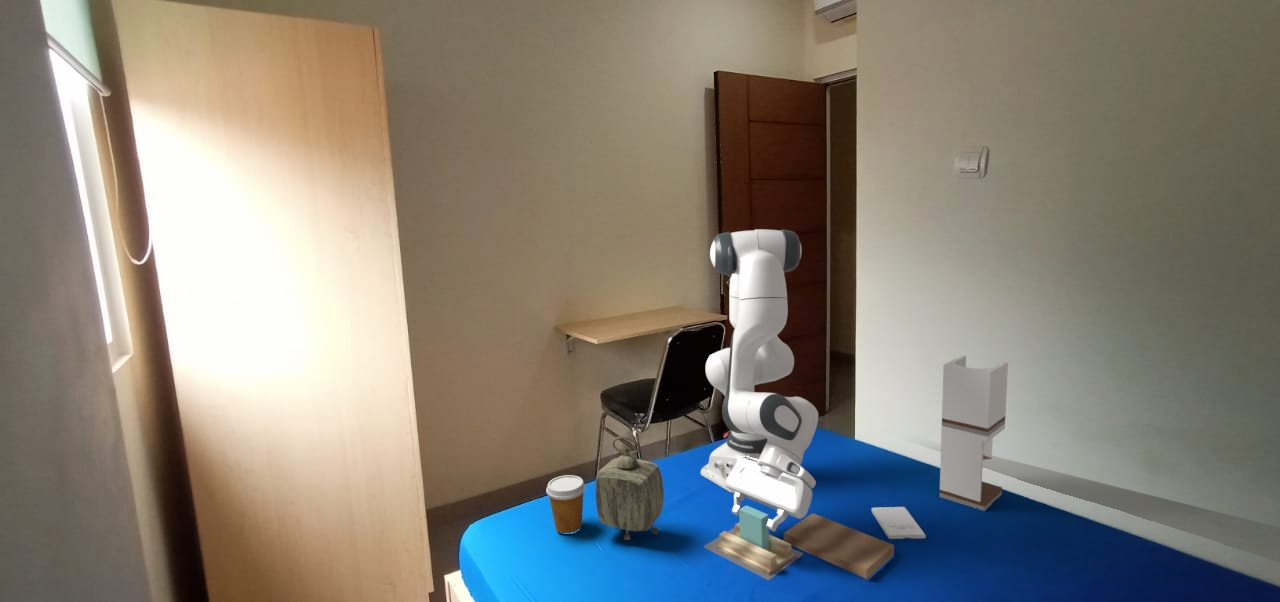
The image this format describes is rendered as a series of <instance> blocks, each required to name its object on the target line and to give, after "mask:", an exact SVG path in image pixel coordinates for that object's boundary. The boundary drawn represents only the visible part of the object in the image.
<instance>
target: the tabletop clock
mask: <svg viewBox="0 0 1280 602" xmlns="http://www.w3.org/2000/svg"><path fill="white" fill-rule="evenodd" d="M619 440H625V441H626V440H627V441H631V442H632V443H634V444H635V445H636V447H637V449H636V450H633V451H632V450H631V451H630V450H629V448H628V447H624V448H623V449H620V448H618V447H617V446H616V445H615V443H616V441H619ZM612 447H613V448H614V450H615V451H616V452H619V453H620V454H621V455H619V457H616V458H612V459H610V461H608V463H606V464H605V465H604V466H603V467H602V468H600V469H599V471H598V472H597V475H596V478H595V503H596V510H597V511H596V513H597V516H598V520H599V522H601V524H603V525H605V526H607V527H608V526H609V527H610V528H611V527H612V528H615V529H620V530H625V534H624V536H623V540H624V541H625V540H629V541H631V535H630V534H629V533H630V532H644V531H649V529H651V532H652V534H653V535H655V536H656V535H658V534H659V532H660V530H659V528H658V527H654V526H653V524H654V523H655V522H656V521H657V519H659V517H660V516H661V514H662V512H663V510H664V503H665V501H664V498H665V491H664V490H665V489H664V488H665V487H664V481H663V475H662V471H661V469H660V467H659V466H658V465H657V464H655V463H654V462H651V461H647V460H644V459H643V460H642V459H638V458H636V456H635V454H637V453H638V452H639V451H640V444H639V442H638V441H637V440H636V439H634V438H633V437H630V436H624V435H622V436H621V435H619V436H617V437H615V438H614V439H613V441H612ZM629 531H630V532H629Z"/></svg>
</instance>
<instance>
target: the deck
mask: <svg viewBox="0 0 1280 602" xmlns="http://www.w3.org/2000/svg"><path fill="white" fill-rule="evenodd" d="M783 541H785V542H787V543H790V544H791V547H795V548H797V549H798V550H801V551H803V552H806V553H808V554H810V555H812V556H814V557H817V558H819V559H821V560H824V561H825V562H828V563H831V564H832V565H834V566H837V567H839V568H841V569H843V570H846V571H848V572H850V573H852V574H854V575H857V576H859V577H862V578H864V579H865V581H867V580H869V579H870V578H871V577H872V576H873V575H875V573H877V571H879V570H880V569H881V568H882V567H883V566H884V565H885V564H886V563H887V562H888V561H890V560H891V559H892V558H893V557H894V556H895V555H894V553H895V551H894V550H895V546H894V544H892V543H890V542H887V541H884V540H883V539H882V540H881V539H879V538H878V537H874V536H872V535H869V534H867V533H864V532H861V531H859V530H856V529H854V528H851V527H850V526H846V525H844V524H841V523H839V522H837V521H833V520H831V519H829V518H826V517H823V516H821V515H819V514H815V513H813V512H812V513H811V514H809V515H808V516H805V517H804V518H802V519H801V520H800V521H799V522H797V523H796V524H795V525H793V526H792V527H789V529H787V530H786V531H785V532H783Z"/></svg>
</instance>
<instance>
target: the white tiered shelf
mask: <svg viewBox="0 0 1280 602" xmlns="http://www.w3.org/2000/svg"><path fill="white" fill-rule="evenodd" d="M966 364H967V355H964V354H963V355H960V356H958V357H956V358H954V359H952V360H951V361H948V362H946V363H944V364H943V369H942V370H943V372H942V373H943V376H942V405H941V406H942V408H941V433H940V434H941V435H940V436H941V437H940V439H941V440H940V468H939V469H940V470H939V498H942V499H945V500H947V501H952V502H955V503H957V504H961V505H963V504H964V506H966V505H967V507H969V506H970V508H972V507H973V508H972V509H976V508H977V509H976V510H979V509H980V510H979V511H982V510H983V511H982V512H985V511H986V510H988V508H990V507H991V506H992V503H993V502H994V501H995V500H996V499H997V500H998V499H999V498H1000V497H1001V496H1002V495H1003V492H1002V491H1003V487H1002V486H998V485H995V484H992V483H988V482H985V481H983V464H984V463H983V461H985V460H992V459H993V441H994V438H995V437H996V436H997V435H999V434H1000V433H1001V432H1003V431H1004V430H1005V428H1006V413H1007V412H1006V411H1007V393H1008V392H1007V390H1008V385H1007V384H1008V371H1009V361H1003V362H1001V363H999V364H997V365H995V366H994V367H990V368H972V367H967V365H966ZM997 500H996V501H997ZM996 501H995V502H996ZM995 502H994V503H995ZM994 503H993V504H994Z"/></svg>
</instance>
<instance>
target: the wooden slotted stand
mask: <svg viewBox="0 0 1280 602" xmlns="http://www.w3.org/2000/svg"><path fill="white" fill-rule="evenodd" d="M727 532H729V533H731V534H733V535H735V527H732V528H731V529H729V530H728V531H727ZM718 545H720V540H719V536H718V537H717V538H715V539H714V540H712V541H710V542H708V543H707V544H706V545H704V546H703V548H704V549H707V550H708V551H710V552H712V553H713V554H716V555H718V556H720V557H722V558H724V559H726V560H727V561H729V562H732V563H733V564H735V565H737V566H740V567H741V568H743V569H745V570H747V571H749V572H752V574H754V575H757V576H759V577H760V578H762V579H765V580H767V581H770V580H771V579H772V578H774V577H776V576H777V575H778V574H779V573H780V572H782V571H784V569H786V568H787V567H790V565H791V564H793V563H794V562H795V561H797V560H798V559H800V558H801V557H802V556H803V555H804V553H803V552H801V551H799V550H796V549H794V548H793V547H791V550H792V553H794V557H793V558H791V559H790V560H789V561H787V562H786V563H785V564H783V565H782V566H780V567H779V568H778V569H776V570H775V571H774V572H772V573H771V574H770V575H768V574H766V573H764V572H762V571H760V570H758V569H756V568H754V567H752V566H750V565H748V564H746V563H744V562H742V561H740V560H738V559H736V558H734V557H732V556H730V555H728V554H726V553H724V552H722V551H720V550H718V547H717V546H718Z"/></svg>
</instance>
